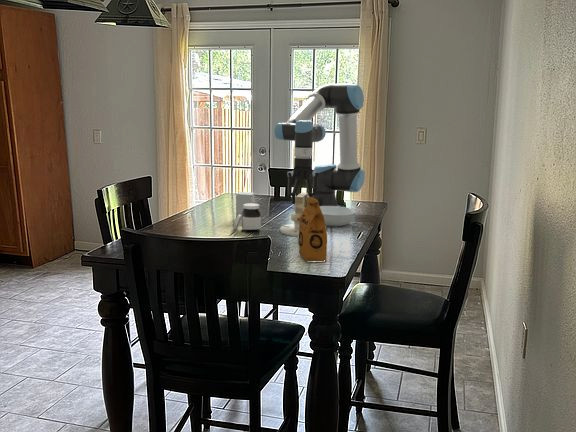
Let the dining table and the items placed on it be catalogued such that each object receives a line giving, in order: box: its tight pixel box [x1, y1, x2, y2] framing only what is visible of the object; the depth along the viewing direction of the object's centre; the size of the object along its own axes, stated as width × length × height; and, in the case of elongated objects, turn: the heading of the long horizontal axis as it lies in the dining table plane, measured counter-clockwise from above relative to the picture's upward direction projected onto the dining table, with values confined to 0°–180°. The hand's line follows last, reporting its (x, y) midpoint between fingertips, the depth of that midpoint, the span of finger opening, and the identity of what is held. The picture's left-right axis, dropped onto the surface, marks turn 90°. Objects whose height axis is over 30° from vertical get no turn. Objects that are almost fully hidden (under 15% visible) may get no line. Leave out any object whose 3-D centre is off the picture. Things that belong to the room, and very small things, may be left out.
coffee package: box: [297, 197, 328, 262], centre depth 206 cm, size 10×12×22 cm
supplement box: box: [235, 191, 256, 222], centre depth 270 cm, size 7×7×13 cm
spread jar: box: [232, 202, 262, 234], centre depth 248 cm, size 12×11×12 cm
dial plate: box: [279, 221, 300, 237], centre depth 249 cm, size 18×18×5 cm
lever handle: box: [290, 192, 309, 222], centre depth 247 cm, size 12×9×11 cm
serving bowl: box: [320, 205, 356, 228], centre depth 264 cm, size 21×21×7 cm
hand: (301, 211), depth 247 cm, fingers closed on lever handle, 5 cm apart
